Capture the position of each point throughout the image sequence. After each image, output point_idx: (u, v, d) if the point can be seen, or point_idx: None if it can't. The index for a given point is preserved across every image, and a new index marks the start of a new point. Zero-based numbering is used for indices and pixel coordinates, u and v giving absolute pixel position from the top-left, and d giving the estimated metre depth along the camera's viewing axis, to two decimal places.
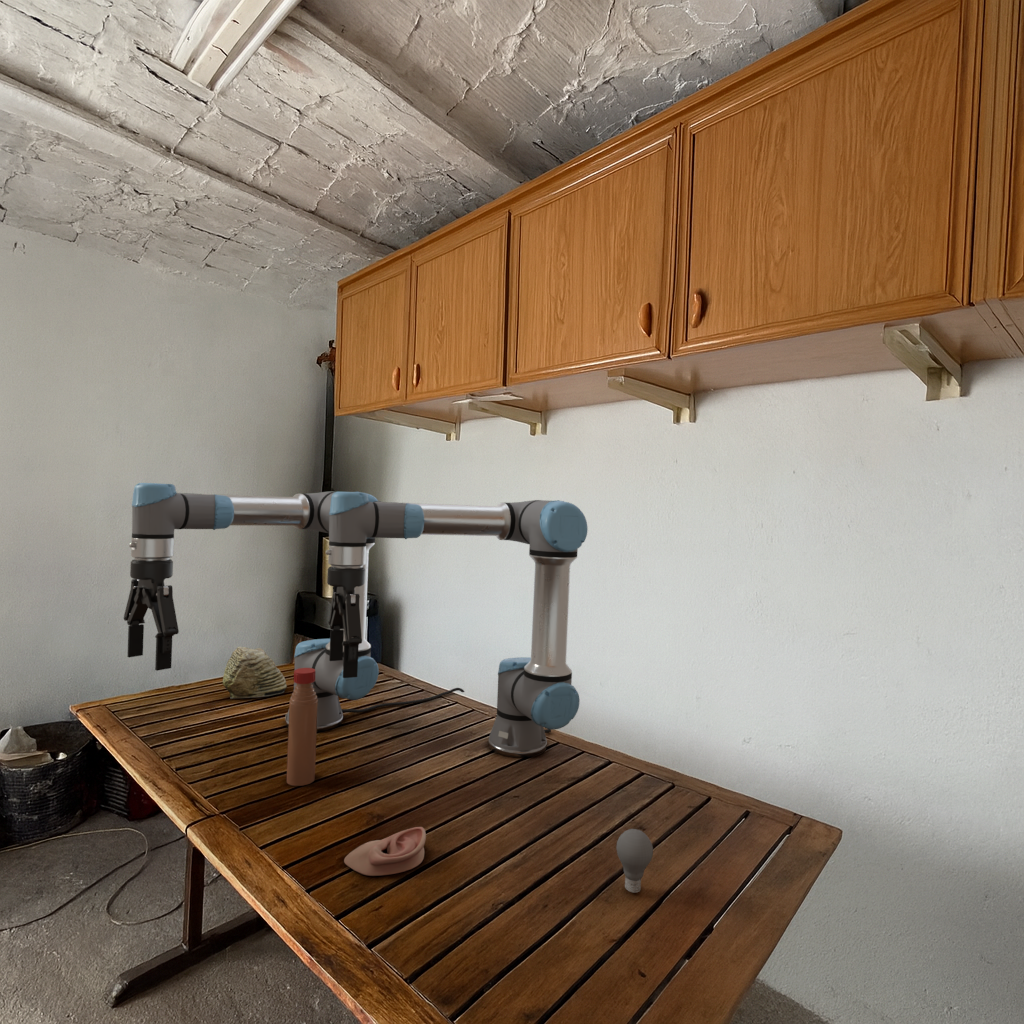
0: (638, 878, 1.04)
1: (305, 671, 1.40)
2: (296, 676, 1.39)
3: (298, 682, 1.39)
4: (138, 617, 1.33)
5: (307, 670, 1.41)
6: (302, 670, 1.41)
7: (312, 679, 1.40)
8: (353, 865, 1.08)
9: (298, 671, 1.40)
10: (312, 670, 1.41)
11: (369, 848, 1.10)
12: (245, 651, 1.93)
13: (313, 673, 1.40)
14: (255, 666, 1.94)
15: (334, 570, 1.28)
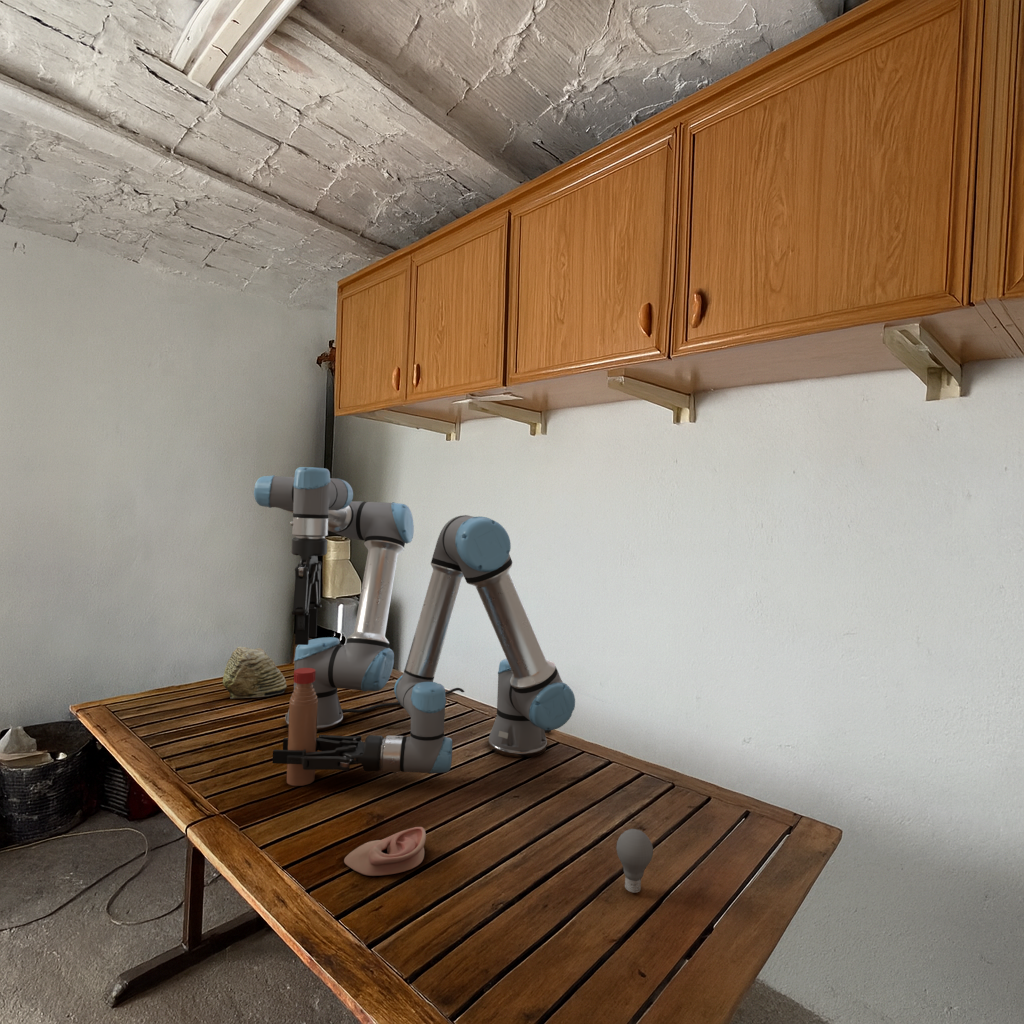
0: (638, 878, 1.04)
1: (305, 671, 1.40)
2: (296, 676, 1.39)
3: (298, 682, 1.39)
4: (311, 598, 1.44)
5: (307, 670, 1.41)
6: (302, 670, 1.41)
7: (312, 679, 1.40)
8: (353, 865, 1.08)
9: (298, 671, 1.40)
10: (312, 670, 1.41)
11: (369, 848, 1.10)
12: (245, 651, 1.93)
13: (313, 673, 1.40)
14: (255, 666, 1.94)
15: None
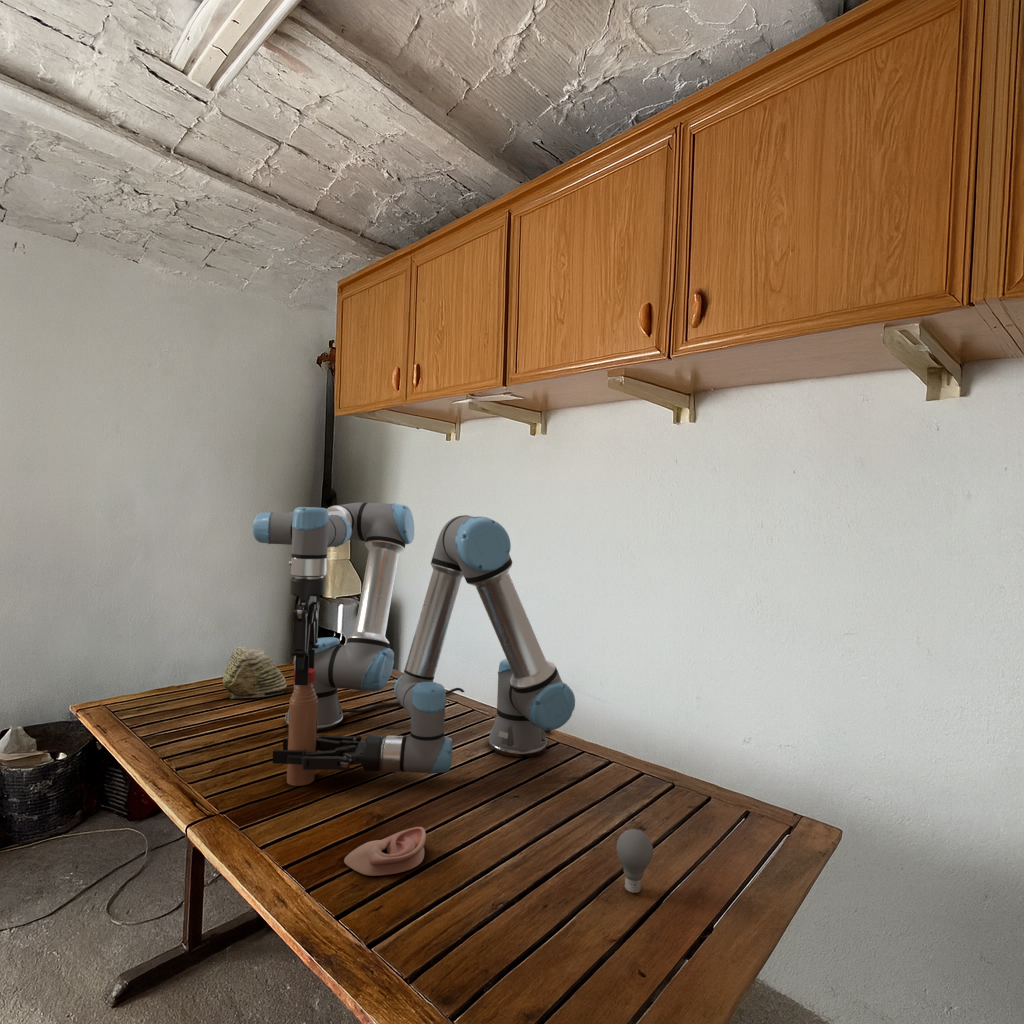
0: (638, 878, 1.04)
1: None
2: None
3: None
4: (309, 638, 1.43)
5: None
6: None
7: (312, 679, 1.40)
8: (353, 865, 1.08)
9: None
10: (312, 670, 1.41)
11: (369, 848, 1.10)
12: (245, 651, 1.93)
13: (313, 673, 1.40)
14: (255, 666, 1.94)
15: None
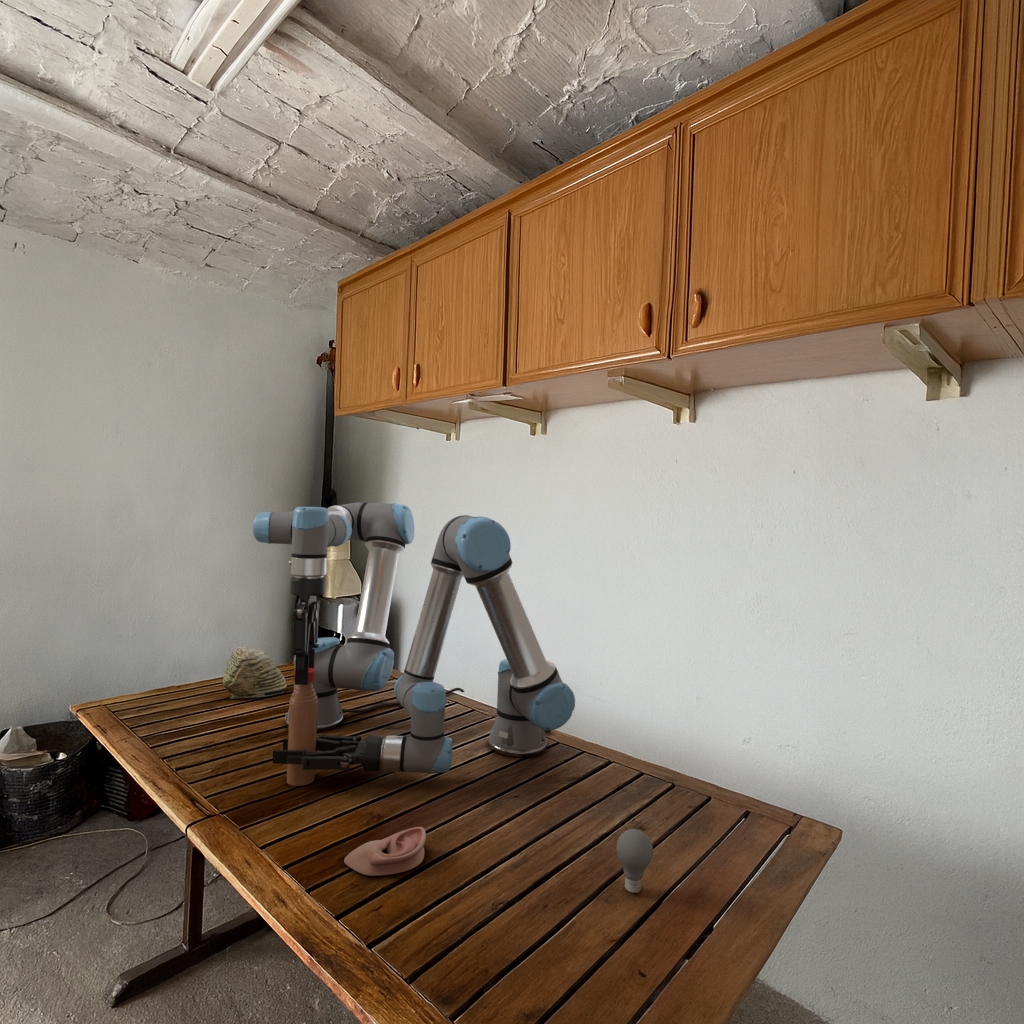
0: (638, 878, 1.04)
1: None
2: (310, 676, 1.39)
3: (312, 680, 1.40)
4: (309, 638, 1.43)
5: None
6: None
7: None
8: (353, 865, 1.08)
9: None
10: None
11: (369, 848, 1.10)
12: (245, 651, 1.93)
13: None
14: (255, 666, 1.94)
15: None
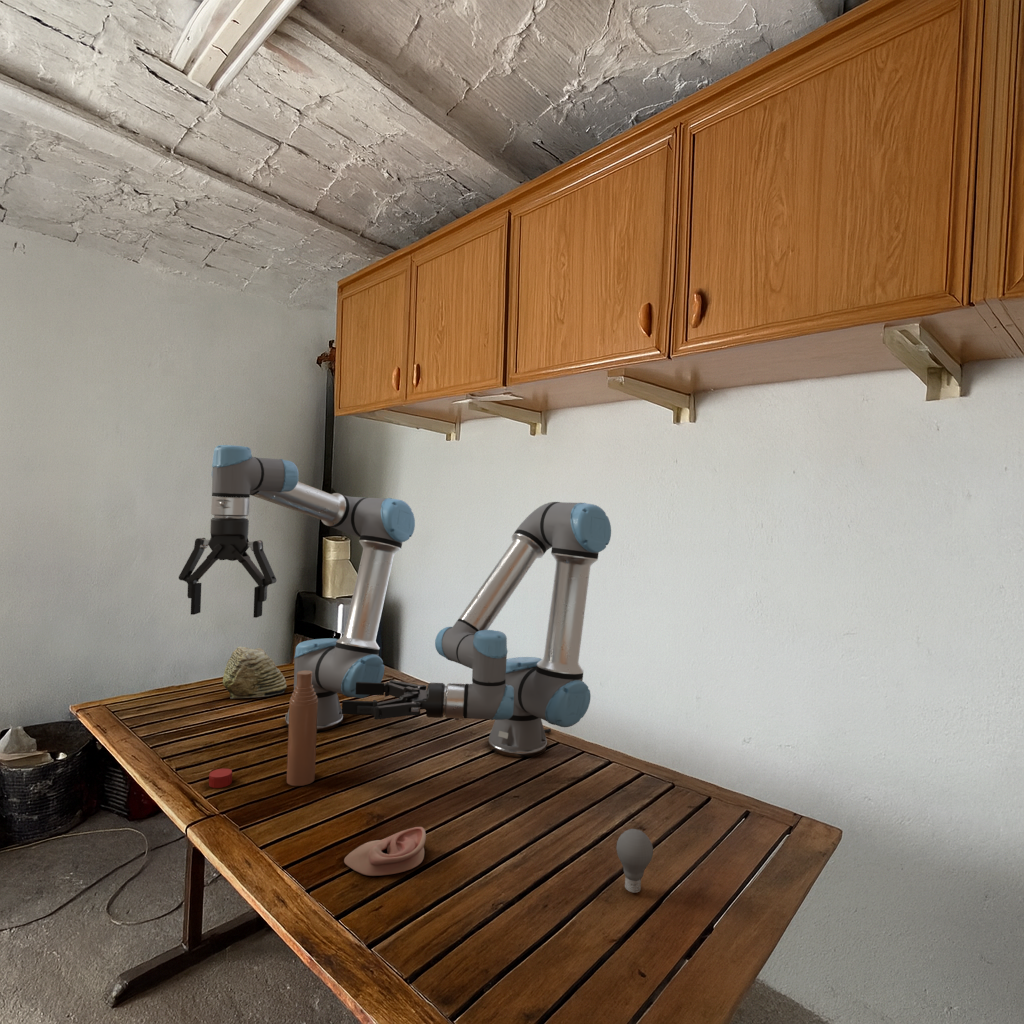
0: (638, 878, 1.04)
1: (224, 772, 1.38)
2: (222, 781, 1.36)
3: (225, 785, 1.36)
4: (200, 575, 1.37)
5: (222, 771, 1.38)
6: (218, 773, 1.37)
7: None
8: (353, 865, 1.08)
9: (219, 775, 1.36)
10: (226, 769, 1.39)
11: (369, 848, 1.10)
12: (245, 651, 1.93)
13: None
14: (255, 666, 1.94)
15: None
